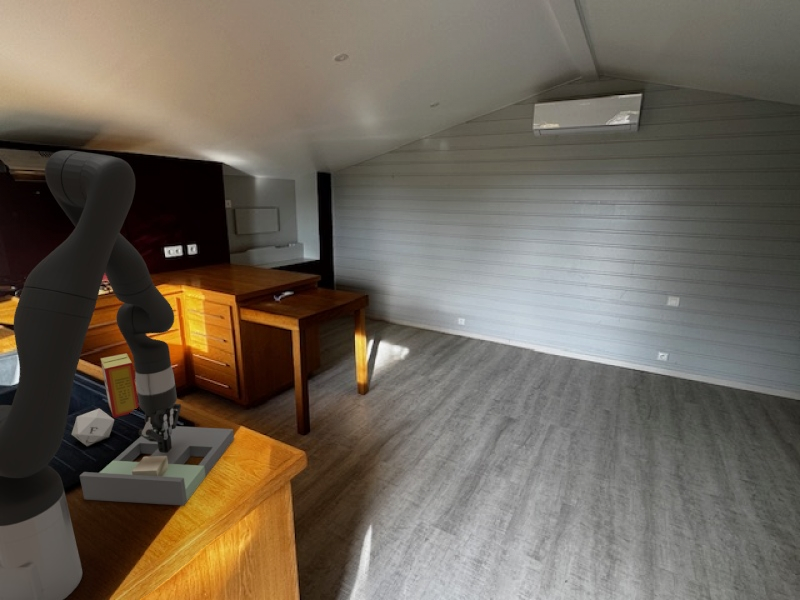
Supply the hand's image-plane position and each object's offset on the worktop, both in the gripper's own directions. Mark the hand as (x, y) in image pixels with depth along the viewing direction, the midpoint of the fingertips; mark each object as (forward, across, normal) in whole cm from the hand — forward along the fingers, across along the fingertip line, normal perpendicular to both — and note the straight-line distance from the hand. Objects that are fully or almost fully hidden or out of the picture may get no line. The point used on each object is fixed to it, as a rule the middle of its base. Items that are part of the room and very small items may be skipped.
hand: (165, 450), depth 97 cm
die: (+4, +8, +25) cm, 27 cm away
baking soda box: (+4, +24, +29) cm, 38 cm away
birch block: (+1, -7, -1) cm, 7 cm away
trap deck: (+4, 0, 0) cm, 4 cm away
